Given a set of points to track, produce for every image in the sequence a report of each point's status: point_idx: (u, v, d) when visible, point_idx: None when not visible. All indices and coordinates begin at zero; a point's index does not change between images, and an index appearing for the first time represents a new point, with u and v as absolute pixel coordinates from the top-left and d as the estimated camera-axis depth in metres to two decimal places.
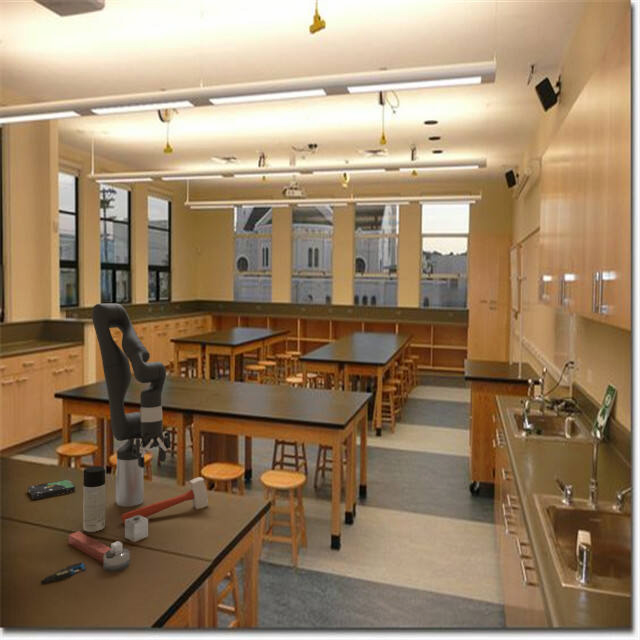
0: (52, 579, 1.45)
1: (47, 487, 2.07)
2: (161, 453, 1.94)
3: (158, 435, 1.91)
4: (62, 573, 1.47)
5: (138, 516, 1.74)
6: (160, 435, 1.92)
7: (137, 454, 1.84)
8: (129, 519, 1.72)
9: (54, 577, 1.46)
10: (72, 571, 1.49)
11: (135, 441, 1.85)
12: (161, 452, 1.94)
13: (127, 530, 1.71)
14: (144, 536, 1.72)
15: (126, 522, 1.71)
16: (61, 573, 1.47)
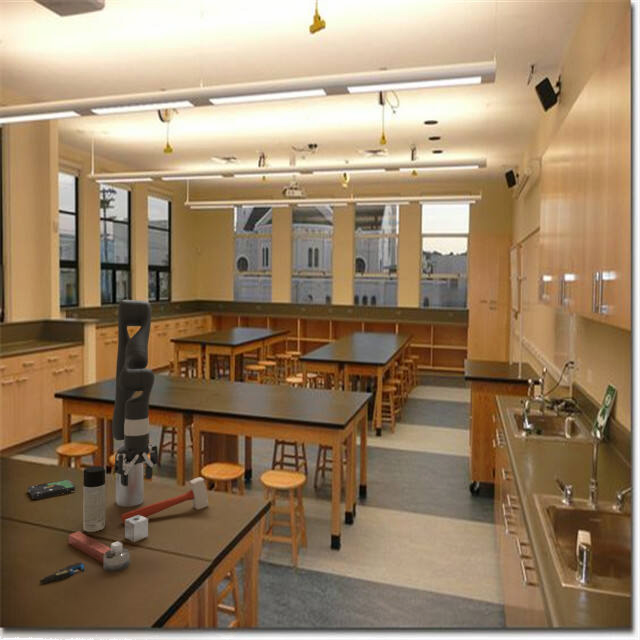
0: (51, 579, 1.45)
1: (47, 487, 2.07)
2: (147, 469, 1.74)
3: (144, 450, 1.72)
4: (61, 573, 1.47)
5: (138, 516, 1.74)
6: (146, 450, 1.72)
7: (120, 472, 1.65)
8: (129, 519, 1.72)
9: (53, 577, 1.45)
10: (71, 571, 1.49)
11: (118, 457, 1.65)
12: (147, 468, 1.74)
13: (127, 530, 1.71)
14: (144, 536, 1.72)
15: (126, 522, 1.71)
16: (60, 573, 1.47)
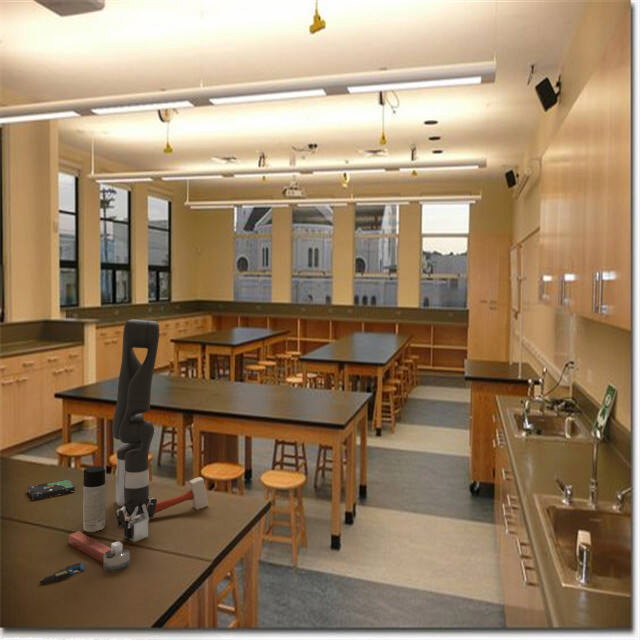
0: (51, 579, 1.45)
1: (47, 487, 2.07)
2: None
3: (144, 501, 1.72)
4: (61, 573, 1.47)
5: (138, 516, 1.74)
6: (146, 500, 1.73)
7: (123, 525, 1.67)
8: None
9: (53, 577, 1.45)
10: (71, 571, 1.49)
11: (118, 513, 1.66)
12: None
13: None
14: (144, 536, 1.72)
15: None
16: (60, 573, 1.47)
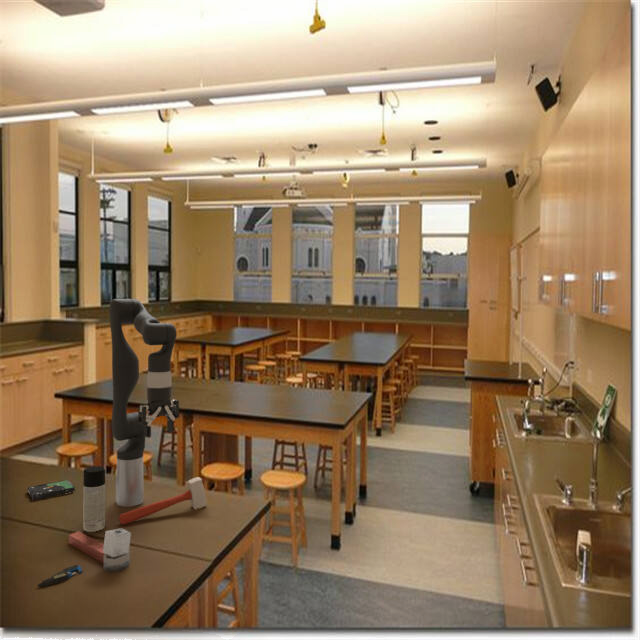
0: (50, 582, 1.43)
1: (46, 488, 2.07)
2: (169, 423, 1.78)
3: (166, 403, 1.75)
4: (59, 576, 1.45)
5: (120, 529, 1.56)
6: (168, 403, 1.76)
7: (143, 422, 1.68)
8: (110, 531, 1.54)
9: (52, 580, 1.44)
10: (69, 574, 1.48)
11: (141, 408, 1.69)
12: (169, 422, 1.78)
13: (107, 543, 1.53)
14: (124, 552, 1.53)
15: (106, 534, 1.53)
16: (58, 576, 1.45)
